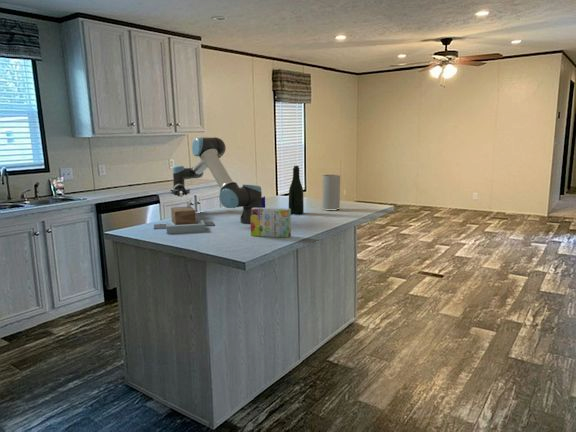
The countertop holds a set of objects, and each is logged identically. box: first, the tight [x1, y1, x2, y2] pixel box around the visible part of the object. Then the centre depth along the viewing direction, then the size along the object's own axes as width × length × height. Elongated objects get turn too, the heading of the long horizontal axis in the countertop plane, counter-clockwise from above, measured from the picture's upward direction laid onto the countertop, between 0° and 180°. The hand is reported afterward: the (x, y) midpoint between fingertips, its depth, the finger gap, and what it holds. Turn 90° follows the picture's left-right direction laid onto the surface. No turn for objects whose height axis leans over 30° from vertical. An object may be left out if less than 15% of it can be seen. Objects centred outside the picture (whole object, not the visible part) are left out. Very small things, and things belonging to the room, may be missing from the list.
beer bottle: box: [288, 165, 305, 215], centre depth 301 cm, size 10×10×33 cm
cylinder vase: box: [321, 174, 341, 209], centre depth 318 cm, size 12×12×25 cm
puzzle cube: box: [262, 195, 266, 208], centre depth 315 cm, size 10×10×10 cm
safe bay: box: [165, 219, 206, 235], centre depth 250 cm, size 14×21×4 cm, turn 106°
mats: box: [153, 220, 216, 230], centre depth 263 cm, size 12×35×1 cm, turn 106°
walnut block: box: [170, 206, 197, 225], centre depth 270 cm, size 16×12×9 cm
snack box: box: [250, 207, 292, 239], centre depth 235 cm, size 21×6×15 cm, turn 77°
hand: (181, 194), depth 277 cm, fingers closed
